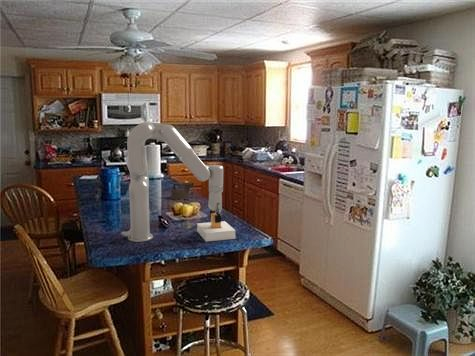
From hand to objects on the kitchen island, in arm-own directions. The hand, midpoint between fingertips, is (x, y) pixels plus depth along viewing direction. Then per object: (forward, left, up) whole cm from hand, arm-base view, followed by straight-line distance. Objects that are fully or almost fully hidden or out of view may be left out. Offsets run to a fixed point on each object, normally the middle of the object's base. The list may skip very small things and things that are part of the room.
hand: (215, 220), depth 214 cm
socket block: (0, 0, -8) cm, 8 cm away
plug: (0, 0, -7) cm, 7 cm away
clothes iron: (0, +89, -9) cm, 89 cm away
